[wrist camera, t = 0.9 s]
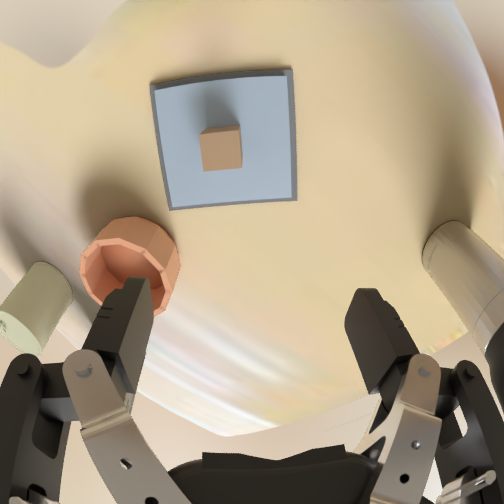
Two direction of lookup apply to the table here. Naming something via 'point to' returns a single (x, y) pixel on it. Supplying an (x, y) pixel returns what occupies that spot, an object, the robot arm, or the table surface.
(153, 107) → the mat
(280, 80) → the lid
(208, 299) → the table surface
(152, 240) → the bowl
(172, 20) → the table surface
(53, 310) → the can
